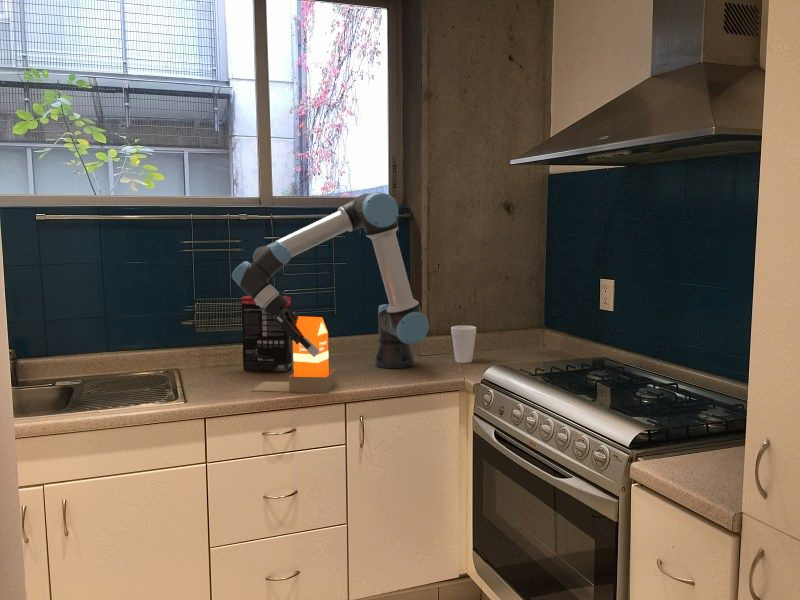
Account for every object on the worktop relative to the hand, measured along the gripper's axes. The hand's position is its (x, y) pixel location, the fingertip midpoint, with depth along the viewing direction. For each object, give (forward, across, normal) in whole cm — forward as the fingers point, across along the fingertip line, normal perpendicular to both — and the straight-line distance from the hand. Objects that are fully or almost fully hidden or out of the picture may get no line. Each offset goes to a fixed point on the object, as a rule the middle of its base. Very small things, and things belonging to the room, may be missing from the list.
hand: (320, 351), depth 223 cm
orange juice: (+4, 0, -9) cm, 10 cm away
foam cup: (+40, -46, +23) cm, 65 cm away
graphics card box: (-10, -25, -27) cm, 38 cm away
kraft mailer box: (+2, 0, -15) cm, 15 cm away
